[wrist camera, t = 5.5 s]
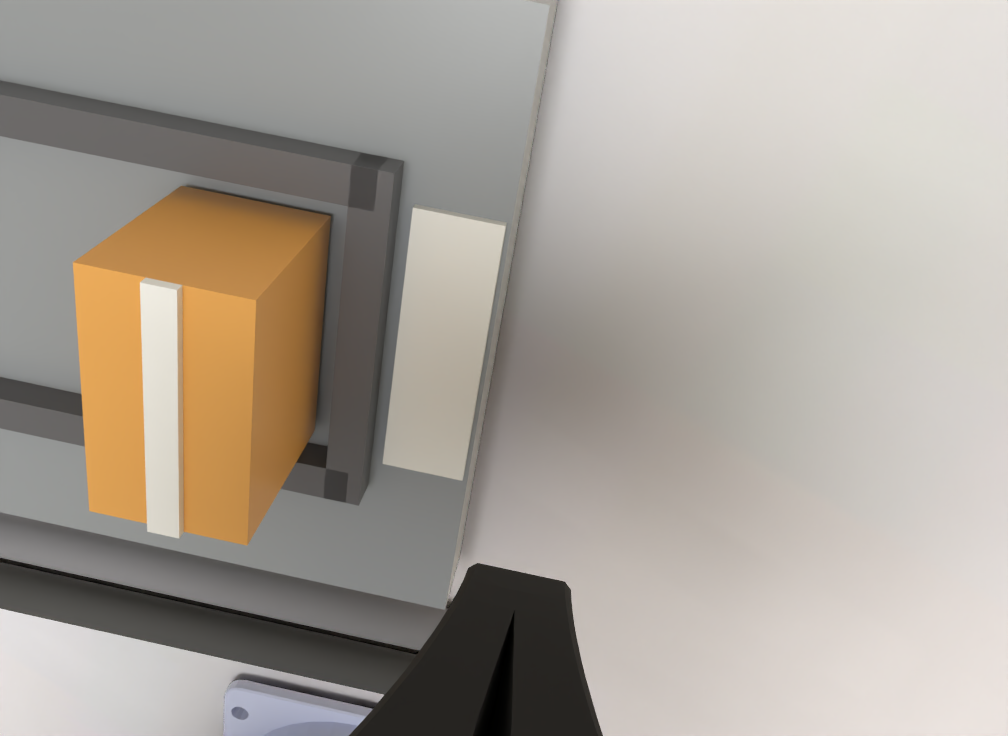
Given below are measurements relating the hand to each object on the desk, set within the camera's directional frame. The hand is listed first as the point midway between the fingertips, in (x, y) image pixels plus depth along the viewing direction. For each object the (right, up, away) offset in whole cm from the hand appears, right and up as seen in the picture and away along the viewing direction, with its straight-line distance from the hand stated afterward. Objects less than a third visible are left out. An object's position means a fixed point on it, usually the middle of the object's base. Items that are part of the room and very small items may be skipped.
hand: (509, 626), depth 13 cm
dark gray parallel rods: (-10, -2, +14) cm, 17 cm away
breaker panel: (-9, +7, +9) cm, 14 cm away
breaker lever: (-5, +5, +7) cm, 10 cm away
